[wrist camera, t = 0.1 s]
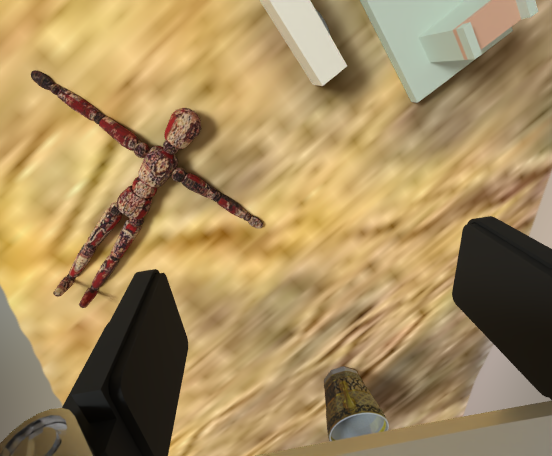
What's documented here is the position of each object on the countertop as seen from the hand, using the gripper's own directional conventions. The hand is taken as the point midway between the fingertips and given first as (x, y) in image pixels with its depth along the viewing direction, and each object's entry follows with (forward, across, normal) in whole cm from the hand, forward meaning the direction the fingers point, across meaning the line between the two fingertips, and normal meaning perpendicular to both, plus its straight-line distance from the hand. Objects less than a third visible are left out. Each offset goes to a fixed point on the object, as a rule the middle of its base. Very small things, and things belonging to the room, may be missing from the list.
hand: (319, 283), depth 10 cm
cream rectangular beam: (+31, -4, -13) cm, 34 cm away
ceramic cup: (+31, -8, +46) cm, 56 cm away
